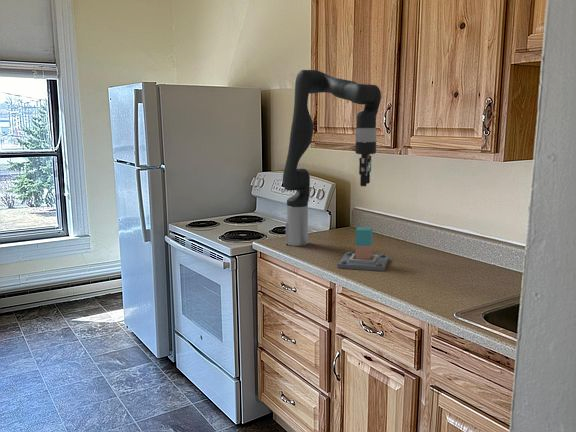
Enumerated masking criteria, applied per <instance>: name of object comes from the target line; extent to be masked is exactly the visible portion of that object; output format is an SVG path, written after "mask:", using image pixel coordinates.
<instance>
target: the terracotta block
mask: <svg viewBox="0 0 576 432" xmlns="http://www.w3.org/2000/svg"><path fill="white" fill-rule="evenodd" d="M354 252H355V259H360V260H371V259H372V254H373V243H372V244H371V246H356V245H355V251H354Z"/></svg>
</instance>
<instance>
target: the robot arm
mask: <svg viewBox="0 0 576 432" xmlns="http://www.w3.org/2000/svg"><path fill="white" fill-rule="evenodd" d="M318 93H319V94H320V93H326V94H327V93H330V94H331V95H333V96H334V97H337V98H339V99H342V100H345V101H346V100H347V101H350V102H352V103H354V104H358V105H364V108H363V110H362V111H358V112H357V113H356V130H355V154H357V155H361V157H359V158H358V159H359V162H358V163H359V167H358V170H359V171H358V174H359V176H360V181H359V182H360V183H359V185H360V187H367V184H370V182H371V172H372V162H373V161H372V160H373V159H372V155H375V154H376V153H377V115H378V112H379V109H380V108H379V107H380V105H381V104H380V103H381V101H382V100H381V99H382V92H381V90H380V87H379V86H378V85H376V84H364V83H358V82H356V81H353V80H348V79H345V78H337V77H334V76H330V75H329V74H326V73H324V72H323V71H320V70H317V69H302V70H299V72H298V73H297V74H296V77H295V82H294V101H293V102H294V103H293V114H292V122H291V127H290V133H289V134H290V135H289V143H288V144H289V145H288V150H287V155H286V161H285V165H284V169H283V175H282V185H283V188H284V189H285V191H288V192H289V191H290V192H292V191H293V192H294V191H296V192H295V193H294V194H293V195H292V196H291V197H288V198H287V200H286V223H285V245H287V244H288V246H294V247H300V246H301V247H302V246H303V247H304V246H306V245H308V244H309V237H308V236H309V227H308V226H309V200H310V185H311V178H310V174H309V171H308V170H307V169H306V168H298V165H299V162H300V160H301V158H302V157H303V155H304V154H305V152H306V151H307V149H308V148H309V147H310V145H311V143H312V141H313V134H314V121H313V119H312V117H311V114H310V111H309V107H308V102H309V94H311V95H313V94H318Z"/></svg>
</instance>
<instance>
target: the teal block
mask: <svg viewBox="0 0 576 432" xmlns="http://www.w3.org/2000/svg"><path fill="white" fill-rule="evenodd" d="M371 244H372V245H373V227H370V226H369V227H367V226H357V227H356V229H355V247H356V246H371Z"/></svg>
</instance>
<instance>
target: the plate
mask: <svg viewBox="0 0 576 432" xmlns="http://www.w3.org/2000/svg"><path fill="white" fill-rule="evenodd" d="M388 262H389V255H386V254H385V253H380V254H373V253H372V259H371V260H360V259H355V253H353V252H352V251H346V252H345V253H344V254H343V256H342V257H341V259H340V260H339V261H338V262H337V264H336V265H337V268H338V269H347V270H348V269H350V270H361V271H363V270H364V271H378V272H385V270H386V266H387V264H388Z"/></svg>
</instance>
